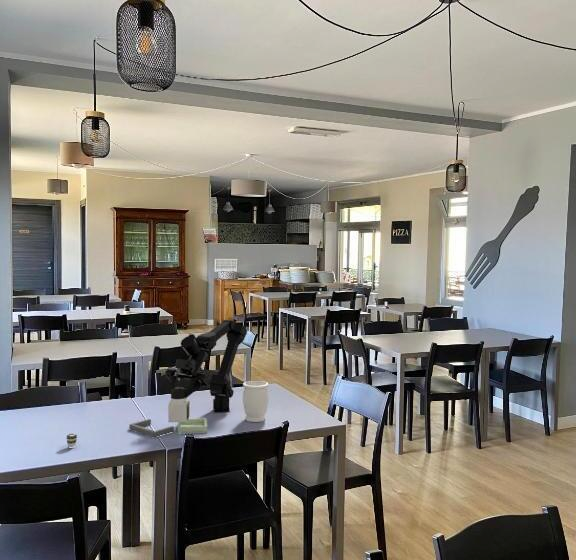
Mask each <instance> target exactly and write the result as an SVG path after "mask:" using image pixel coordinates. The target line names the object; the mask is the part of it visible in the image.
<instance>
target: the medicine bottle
mask: <svg viewBox="0 0 576 560" xmlns="http://www.w3.org/2000/svg"><path fill="white" fill-rule="evenodd" d="M186 391H187V389H186V388H184V387H179V388H174V389H172V390H170V401H169V402H168V405H167V406H168V407H167V409H168V411H167V413H168V416H167V417H168V418H167V419H168V423H178V422H187V421H188V419H189V418H190V399H189V398H188V397H187V398H185V397H184V396H185V393H186Z"/></svg>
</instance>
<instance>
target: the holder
mask: <svg viewBox="0 0 576 560" xmlns="http://www.w3.org/2000/svg"><path fill="white" fill-rule="evenodd" d="M150 424H151V425H152V419H151V418H148V419H145V420H141V421H137V422H132V423H129V426H128V427H129V430H130V429H131V430H130V431H132V430H134V431H133V432H135V431H136V433H138V432H139V433H138V434H141V433H142V434H141V435H144V436H147V435H148V436H147V437H150V436H151V437H150V438H152V437H154V438H153V439H156V438H155V437H157V436H160V435H163V434H166V435H168V434H167V433H170V432H173V433H175V426H169V427H164V428H161V429H158V430H152V429H149V428H147V425H148V426H150ZM143 426H144V427H143ZM170 434H171V433H170ZM163 436H164V435H163ZM160 437H161V436H160ZM157 438H158V437H157Z"/></svg>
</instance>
